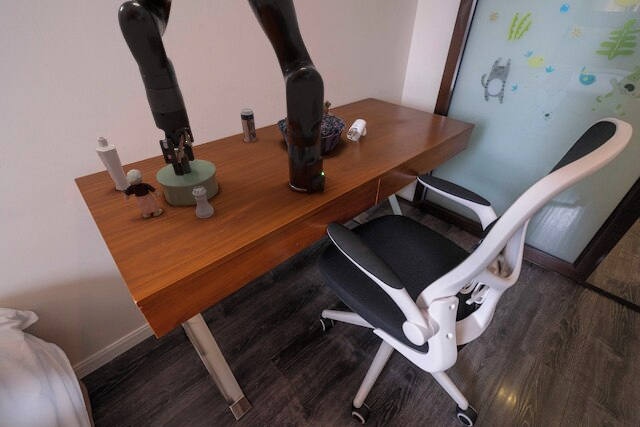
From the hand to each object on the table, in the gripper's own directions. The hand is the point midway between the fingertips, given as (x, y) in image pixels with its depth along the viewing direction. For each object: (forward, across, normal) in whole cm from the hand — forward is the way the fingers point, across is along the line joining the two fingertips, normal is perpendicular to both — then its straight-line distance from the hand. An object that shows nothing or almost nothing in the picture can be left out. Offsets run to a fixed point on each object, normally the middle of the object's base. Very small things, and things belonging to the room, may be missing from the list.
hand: (185, 167), depth 76 cm
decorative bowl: (+8, -36, +35) cm, 51 cm away
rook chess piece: (+8, +11, +6) cm, 15 cm away
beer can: (+8, -38, +11) cm, 40 cm away
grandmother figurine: (+8, +10, -8) cm, 15 cm away
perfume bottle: (+8, -3, -21) cm, 23 cm away
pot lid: (+2, 0, 0) cm, 2 cm away
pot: (+8, 0, 0) cm, 8 cm away
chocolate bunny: (+8, -62, +43) cm, 76 cm away
